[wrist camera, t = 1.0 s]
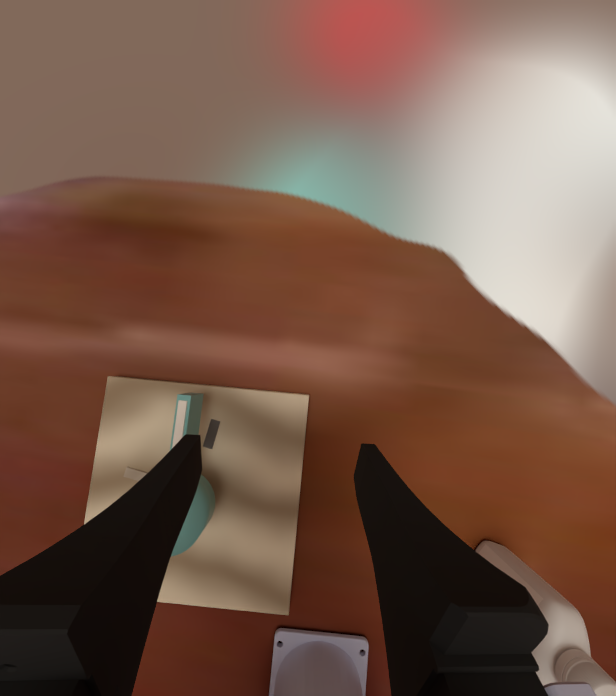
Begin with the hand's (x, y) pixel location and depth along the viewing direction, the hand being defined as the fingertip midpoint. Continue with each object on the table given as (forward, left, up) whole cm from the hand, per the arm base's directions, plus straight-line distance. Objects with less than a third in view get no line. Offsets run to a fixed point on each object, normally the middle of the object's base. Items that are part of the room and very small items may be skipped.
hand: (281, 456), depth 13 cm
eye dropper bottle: (-12, -18, -14) cm, 26 cm away
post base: (-7, +8, -14) cm, 18 cm away
